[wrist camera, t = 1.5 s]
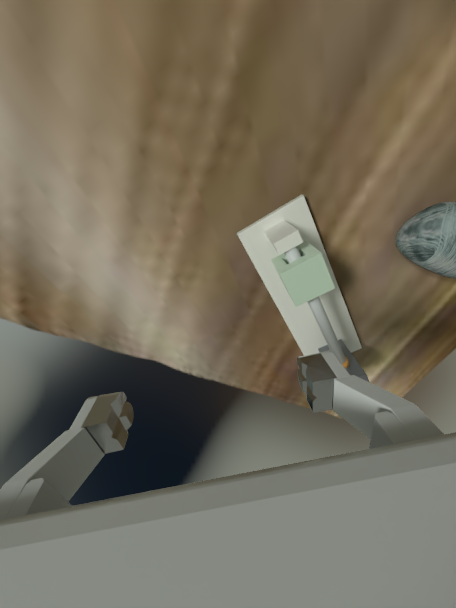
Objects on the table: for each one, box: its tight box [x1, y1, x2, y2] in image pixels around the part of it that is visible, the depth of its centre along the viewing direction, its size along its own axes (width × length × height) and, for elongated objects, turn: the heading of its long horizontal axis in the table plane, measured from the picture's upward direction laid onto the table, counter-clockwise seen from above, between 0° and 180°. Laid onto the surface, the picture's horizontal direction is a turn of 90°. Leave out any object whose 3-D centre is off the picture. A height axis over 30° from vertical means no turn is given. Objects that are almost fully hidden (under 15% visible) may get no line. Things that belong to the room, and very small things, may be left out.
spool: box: [396, 202, 456, 278], centre depth 31 cm, size 14×10×10 cm
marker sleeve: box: [271, 241, 335, 307], centre depth 29 cm, size 5×5×5 cm
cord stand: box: [237, 195, 369, 382], centre depth 35 cm, size 10×30×10 cm, turn 30°
